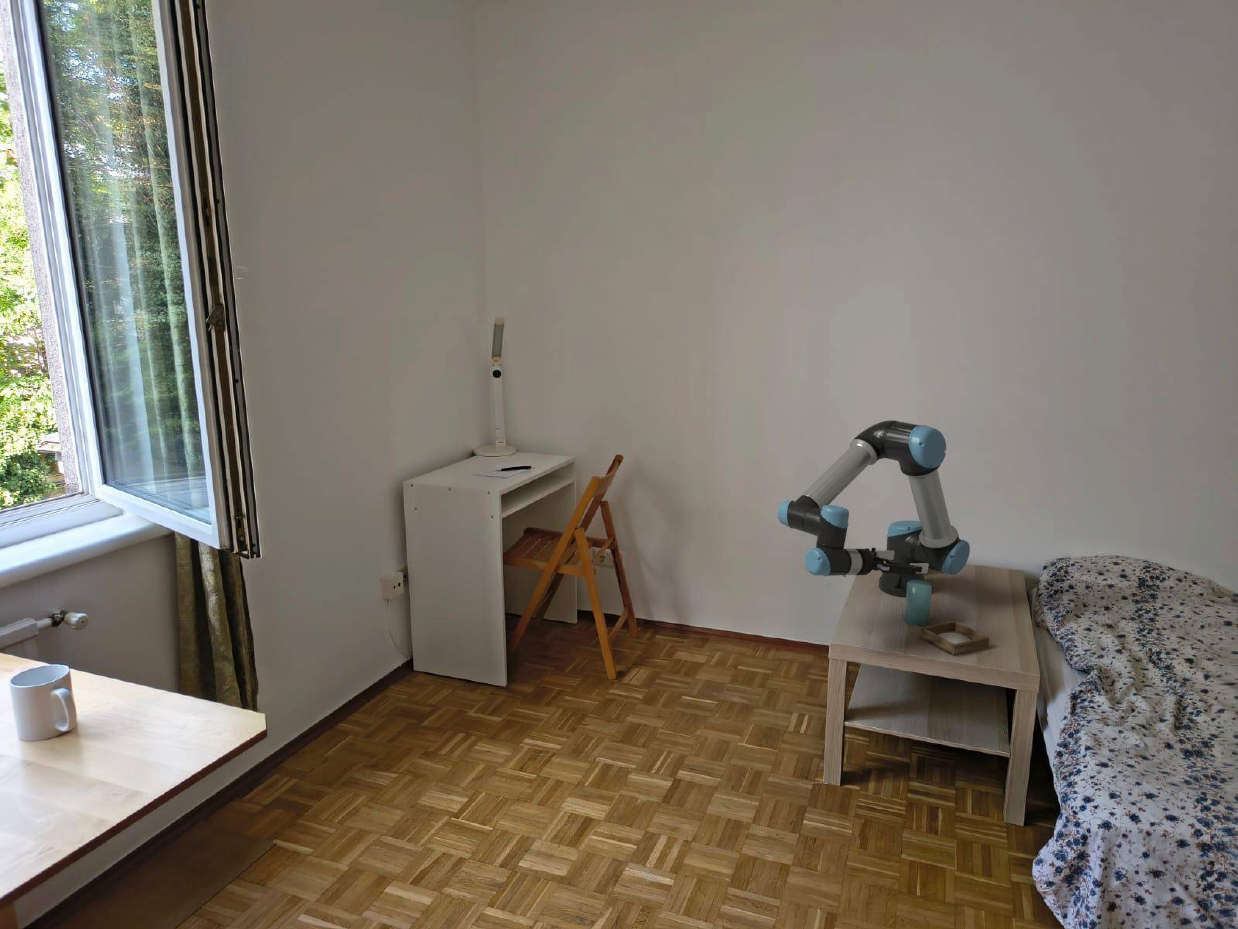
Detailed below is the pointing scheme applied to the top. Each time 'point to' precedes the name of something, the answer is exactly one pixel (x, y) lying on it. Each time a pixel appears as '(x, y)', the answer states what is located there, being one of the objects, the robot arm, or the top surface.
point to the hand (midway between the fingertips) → (909, 561)
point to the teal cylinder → (918, 602)
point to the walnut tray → (975, 637)
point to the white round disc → (954, 637)
